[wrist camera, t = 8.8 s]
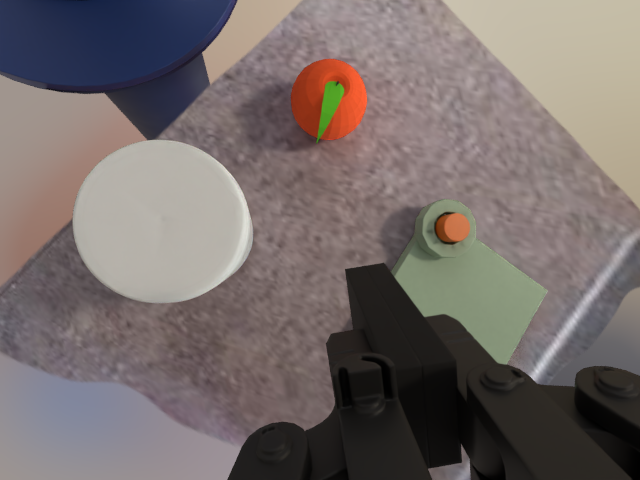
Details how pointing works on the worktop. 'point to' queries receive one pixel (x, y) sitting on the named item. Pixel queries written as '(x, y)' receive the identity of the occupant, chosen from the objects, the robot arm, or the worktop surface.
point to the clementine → (328, 99)
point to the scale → (467, 283)
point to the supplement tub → (161, 222)
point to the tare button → (452, 227)
